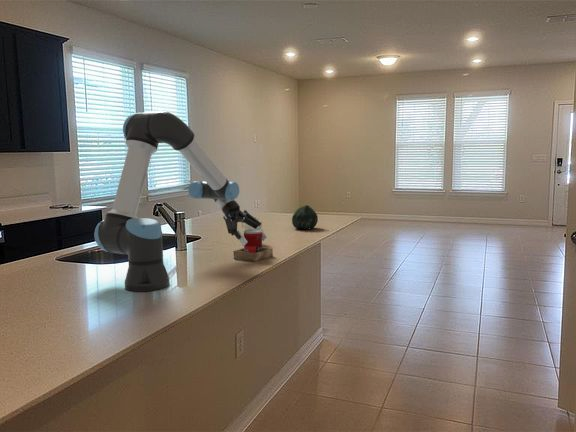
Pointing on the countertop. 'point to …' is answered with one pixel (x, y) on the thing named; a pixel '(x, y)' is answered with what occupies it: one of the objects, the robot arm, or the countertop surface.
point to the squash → (304, 218)
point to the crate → (253, 254)
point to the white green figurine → (250, 226)
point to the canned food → (253, 241)
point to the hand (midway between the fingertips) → (255, 241)
